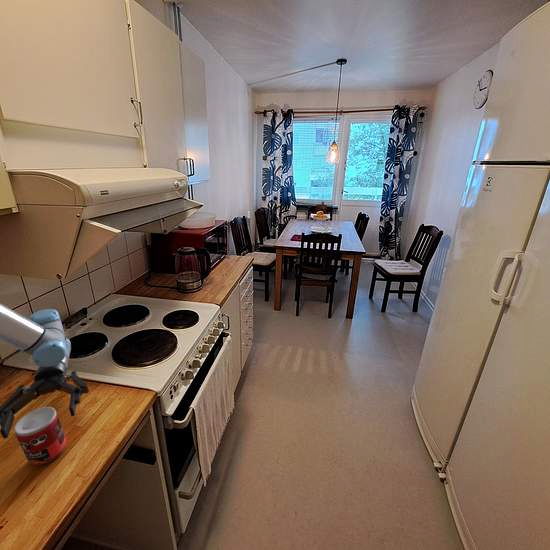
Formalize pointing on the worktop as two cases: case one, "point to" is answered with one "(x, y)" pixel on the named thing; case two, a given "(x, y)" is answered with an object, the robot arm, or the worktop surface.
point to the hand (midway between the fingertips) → (39, 422)
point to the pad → (51, 460)
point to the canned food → (40, 435)
